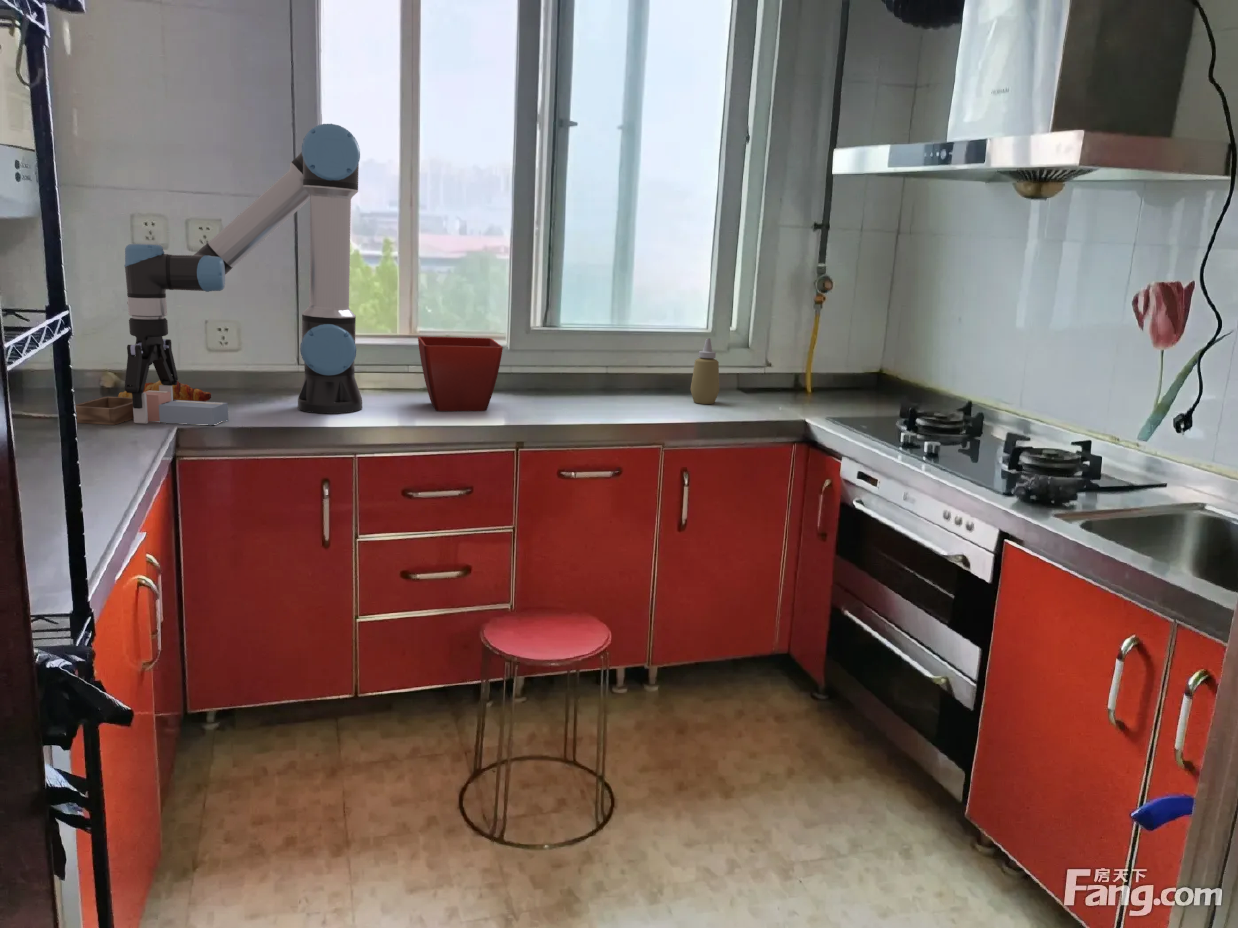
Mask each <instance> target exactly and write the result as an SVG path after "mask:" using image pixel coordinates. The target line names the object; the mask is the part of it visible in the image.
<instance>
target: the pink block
mask: <svg viewBox="0 0 1238 928" xmlns="http://www.w3.org/2000/svg"><path fill="white" fill-rule="evenodd" d="M143 393H146V398H147V413H148V421H160V417H159V405H160V404H162V403H166V402H170V401H171V396H170V392H168V391H150V390H149V391H146V392H143Z"/></svg>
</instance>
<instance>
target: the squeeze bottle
mask: <svg viewBox="0 0 1238 928" xmlns="http://www.w3.org/2000/svg"><path fill="white" fill-rule="evenodd" d="M711 340H712V339H711V338H705V341H704V346H703V348H702V350H699V351H698V357H699V358H697V359H695V360H694V364H693V371H692V377H691V384H690V392H691V397H692V400H693V401H692V402H694V403H696V404H700V405H712V404H715V403H716V400H717V398H718V395H719V392H720V371H719V370H720V369H719V363H720V362H719V361H718V359H716V355H717V354H716V353H717V352H716V351H713V346H712V341H711Z"/></svg>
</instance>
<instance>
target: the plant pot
mask: <svg viewBox="0 0 1238 928" xmlns="http://www.w3.org/2000/svg"><path fill="white" fill-rule="evenodd" d="M417 342H418V343H417V344H418V349H419V357H420V358H419V359H420V363H421V369H422V373H423V377H424V382H425V386H426V390H427V394H428V396H429V400H430V403H431V405H432V407H433V408H434V410H435V411H437V412H438V411H439V412H485V411H487V410H488V407H489V405H490V402H491V399H492V397H493V392H494V390H495V386H496V383H497V379H498V375H499V370H500V367H501V361H502V355H503V351H504V350H503V349H504V348H503V346H502V345H501V344H500V343H498V342H497V341H495V340H494V339H493V338H490V337H489V338H488V337H458V336H457V337H456V336H418V337H417Z"/></svg>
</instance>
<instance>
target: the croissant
mask: <svg viewBox="0 0 1238 928" xmlns="http://www.w3.org/2000/svg"><path fill="white" fill-rule="evenodd" d="M159 385H163V384H161V382H160V379H159V380H158V381H156V382H146V383H145V387H144V392H146V391H149V390H150V391H159ZM172 389H173V400H186V401H203V402H209V401H210V400H211V399H212V393H211V392H209V391H203V390H202V389H199V388H193V387H191V386H190V385H188V384H187V383H186V384H185V383H181V382H180V381H178V380H177V385H172ZM117 397H125V398H132V393H127V392H126V391H125V390H124V391H121V392H119V393H118V396H117Z"/></svg>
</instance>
